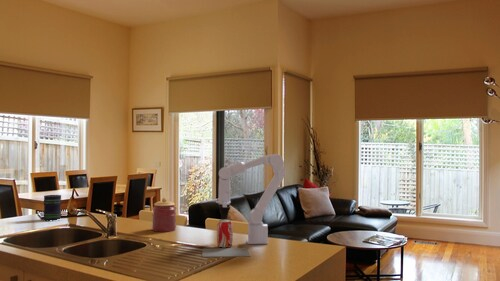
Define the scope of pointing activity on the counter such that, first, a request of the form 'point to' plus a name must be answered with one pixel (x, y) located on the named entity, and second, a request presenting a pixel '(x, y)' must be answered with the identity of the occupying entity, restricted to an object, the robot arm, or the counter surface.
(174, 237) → the counter surface
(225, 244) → the soda can
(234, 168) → the robot arm
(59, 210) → the storage jar
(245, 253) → the mat
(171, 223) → the canister
